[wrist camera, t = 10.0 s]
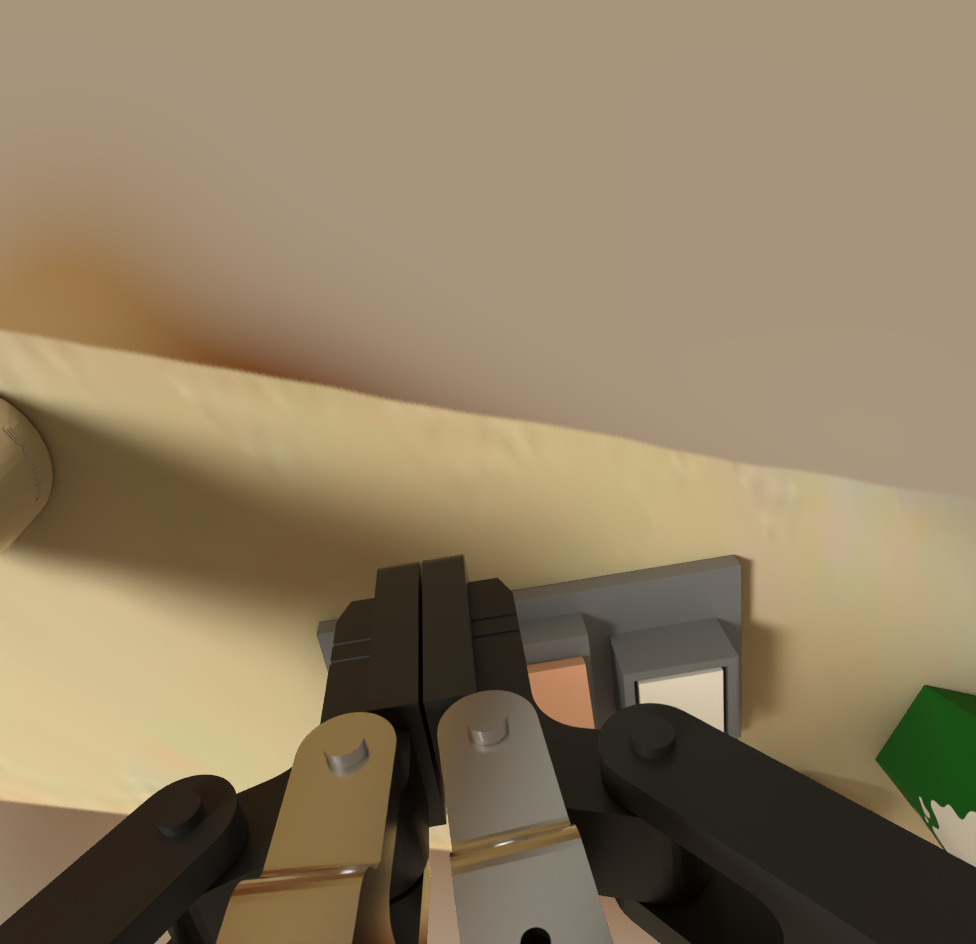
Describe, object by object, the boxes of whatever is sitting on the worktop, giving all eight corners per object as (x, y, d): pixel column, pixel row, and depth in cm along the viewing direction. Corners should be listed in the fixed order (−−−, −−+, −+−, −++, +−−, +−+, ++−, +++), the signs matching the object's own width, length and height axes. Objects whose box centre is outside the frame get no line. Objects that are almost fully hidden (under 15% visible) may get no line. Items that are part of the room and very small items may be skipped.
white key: (629, 707, 51) (643, 747, 48) (625, 646, 49) (639, 684, 46) (705, 695, 51) (723, 734, 48) (703, 634, 49) (723, 670, 46)
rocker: (519, 796, 49) (523, 818, 47) (497, 661, 48) (499, 678, 45) (598, 783, 49) (605, 805, 47) (579, 648, 48) (585, 664, 45)
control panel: (366, 785, 54) (361, 846, 50) (319, 622, 48) (308, 676, 44) (734, 724, 55) (762, 780, 50) (734, 554, 49) (766, 601, 44)
